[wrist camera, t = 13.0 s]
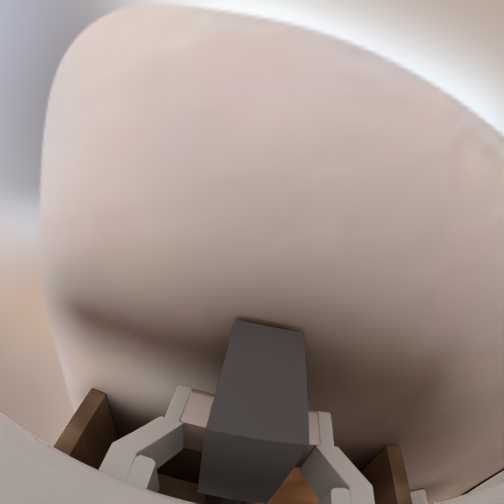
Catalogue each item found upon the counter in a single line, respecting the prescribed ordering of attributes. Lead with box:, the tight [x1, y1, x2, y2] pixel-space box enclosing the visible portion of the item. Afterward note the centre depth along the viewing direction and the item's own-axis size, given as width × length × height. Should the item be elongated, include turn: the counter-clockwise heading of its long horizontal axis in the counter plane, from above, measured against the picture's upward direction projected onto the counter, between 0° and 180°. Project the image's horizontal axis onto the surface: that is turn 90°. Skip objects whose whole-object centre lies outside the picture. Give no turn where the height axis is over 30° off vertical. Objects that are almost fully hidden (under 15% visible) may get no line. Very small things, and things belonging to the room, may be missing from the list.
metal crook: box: [197, 319, 310, 504], centre depth 11 cm, size 7×16×5 cm, turn 170°
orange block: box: [245, 467, 319, 504], centre depth 14 cm, size 4×4×4 cm
